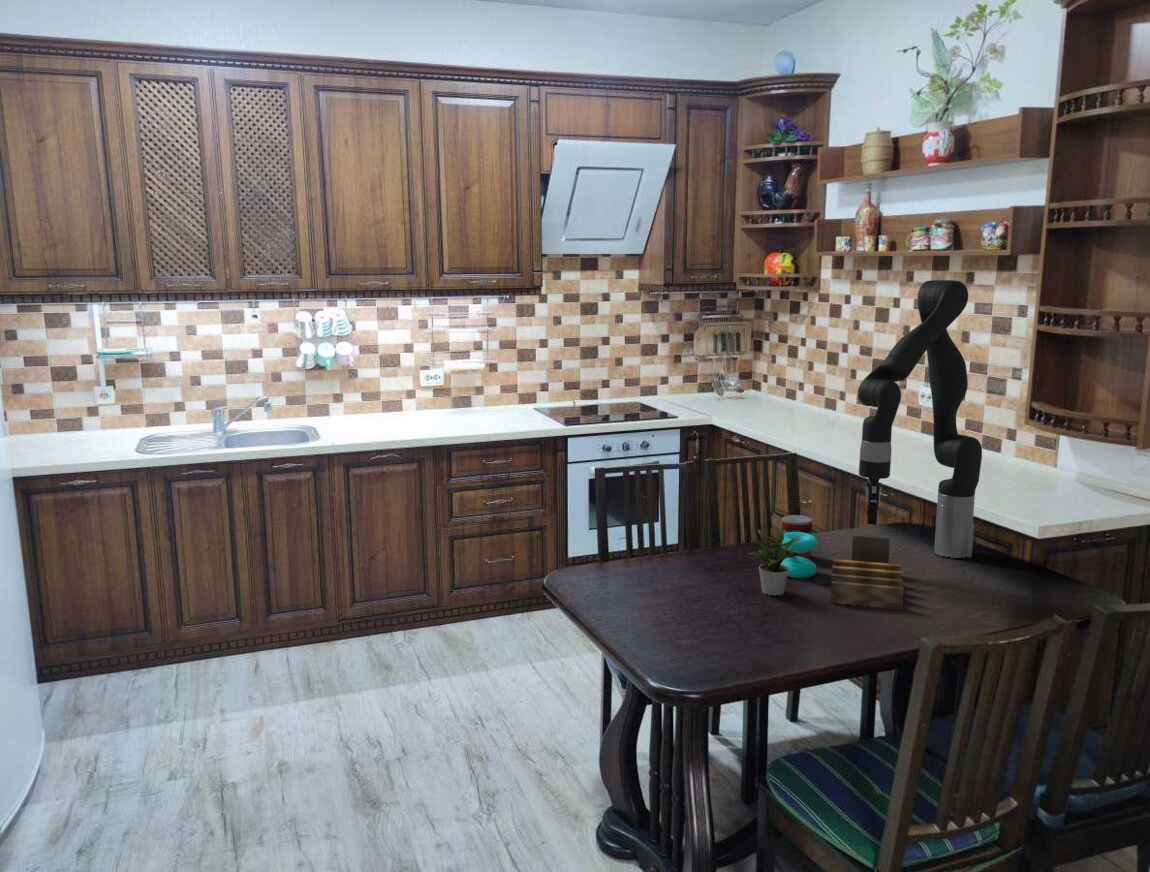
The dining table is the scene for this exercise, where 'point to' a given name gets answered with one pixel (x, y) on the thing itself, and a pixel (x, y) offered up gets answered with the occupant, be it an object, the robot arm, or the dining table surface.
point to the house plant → (774, 563)
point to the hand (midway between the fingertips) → (871, 519)
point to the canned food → (797, 529)
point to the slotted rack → (867, 584)
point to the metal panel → (870, 548)
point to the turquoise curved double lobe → (802, 565)
